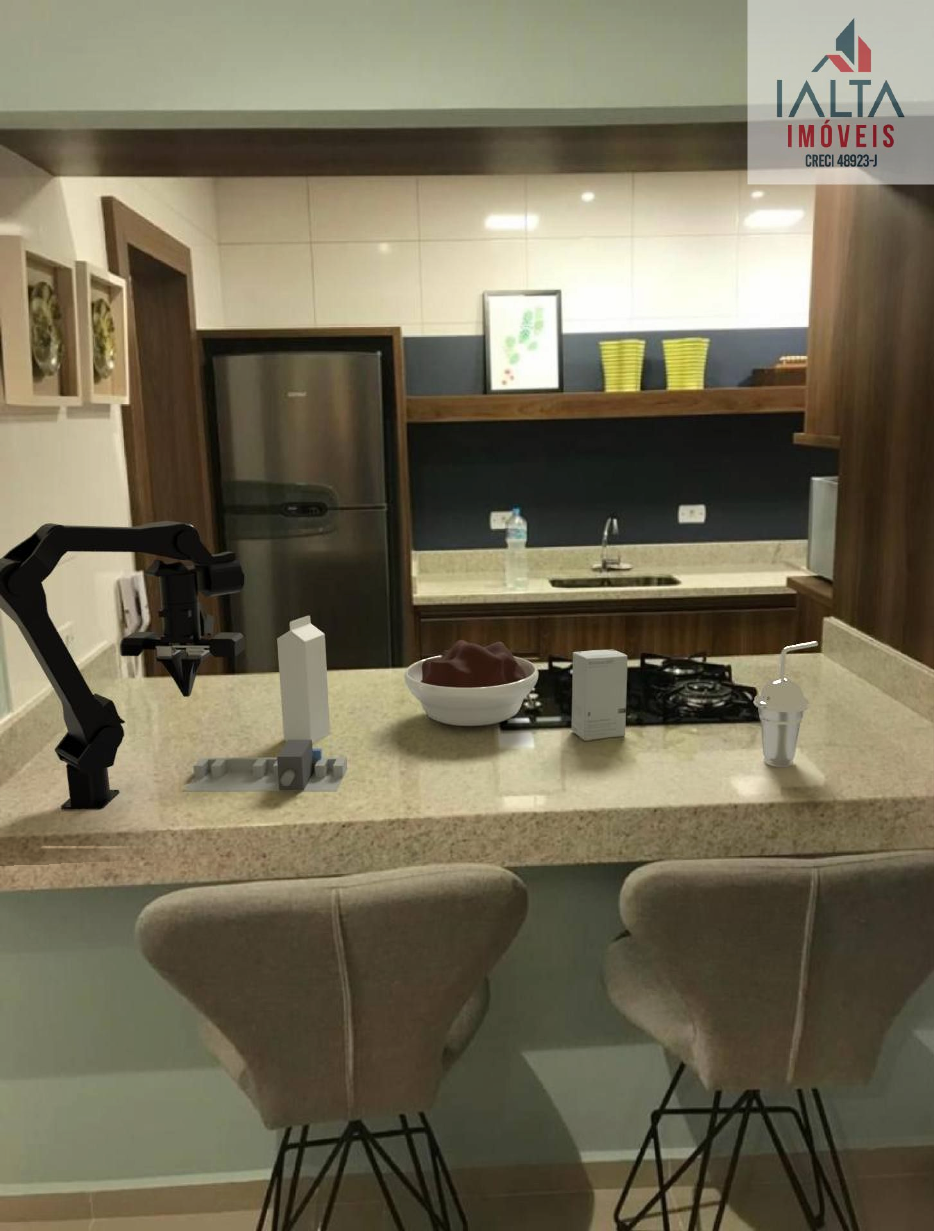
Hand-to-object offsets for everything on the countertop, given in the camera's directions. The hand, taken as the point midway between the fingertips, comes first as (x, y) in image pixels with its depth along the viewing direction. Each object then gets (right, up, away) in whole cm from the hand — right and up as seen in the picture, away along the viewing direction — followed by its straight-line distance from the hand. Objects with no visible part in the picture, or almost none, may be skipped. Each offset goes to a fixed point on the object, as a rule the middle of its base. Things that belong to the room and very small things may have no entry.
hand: (187, 696), depth 152 cm
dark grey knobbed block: (+18, -13, -5) cm, 23 cm away
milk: (+17, -9, +17) cm, 25 cm away
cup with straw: (+96, -11, 0) cm, 96 cm away
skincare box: (+69, -8, +16) cm, 71 cm away
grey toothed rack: (+13, -13, -3) cm, 19 cm away
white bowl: (+46, -7, +26) cm, 53 cm away
